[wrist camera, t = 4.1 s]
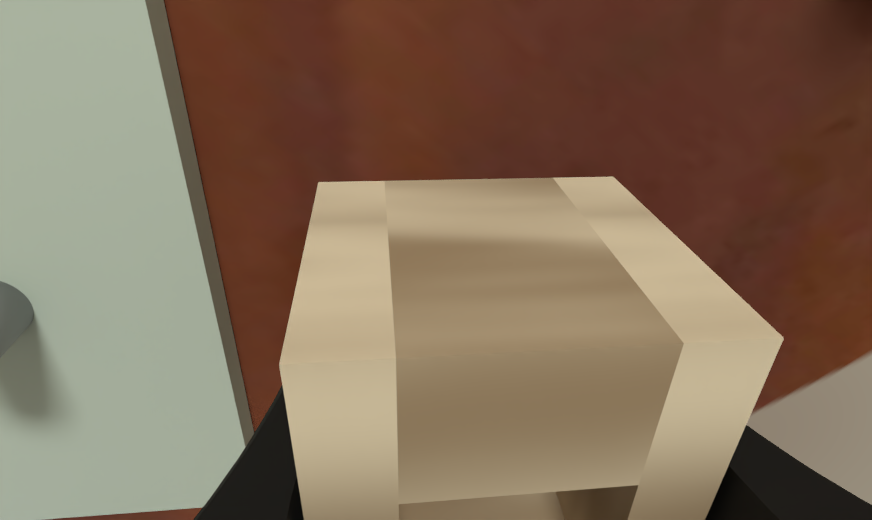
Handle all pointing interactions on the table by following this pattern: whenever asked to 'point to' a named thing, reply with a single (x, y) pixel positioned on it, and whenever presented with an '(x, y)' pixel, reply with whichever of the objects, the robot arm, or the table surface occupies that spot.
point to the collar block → (511, 356)
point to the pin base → (106, 273)
